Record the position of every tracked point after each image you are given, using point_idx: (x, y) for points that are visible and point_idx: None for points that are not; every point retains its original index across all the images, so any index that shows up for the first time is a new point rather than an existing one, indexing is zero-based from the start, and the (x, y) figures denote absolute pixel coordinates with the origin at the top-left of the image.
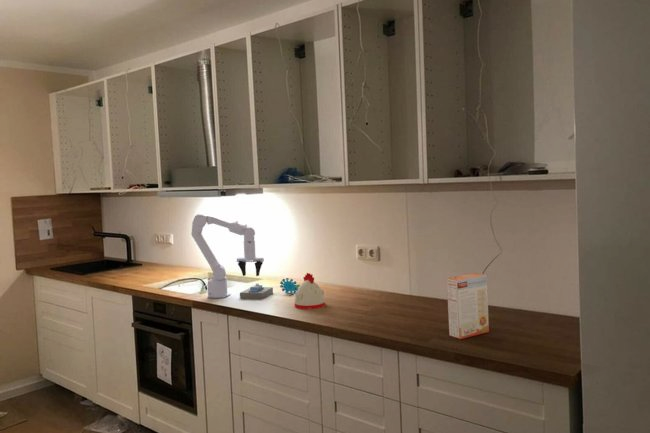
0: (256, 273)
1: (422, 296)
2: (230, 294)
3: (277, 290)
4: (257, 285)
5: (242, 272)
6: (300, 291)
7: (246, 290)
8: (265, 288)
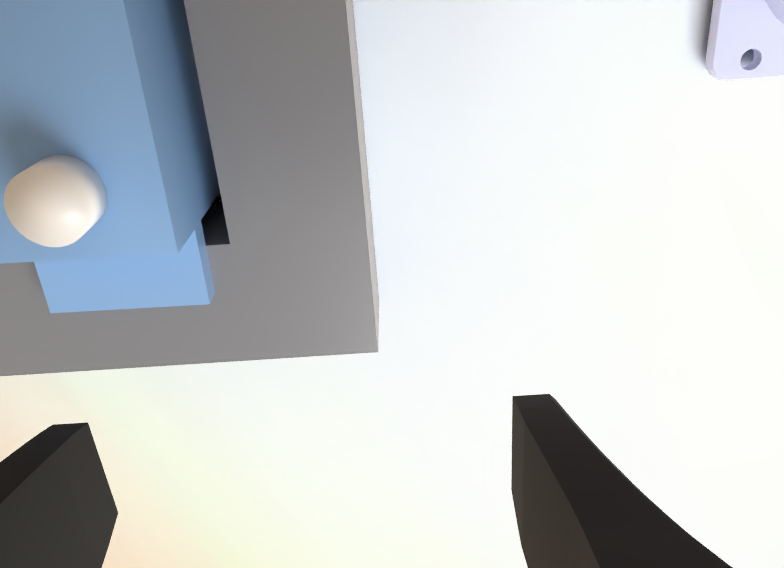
0: (25, 468)
1: None
2: (707, 55)
3: None
4: (34, 161)
5: (579, 452)
6: None
7: (293, 13)
8: (2, 273)
